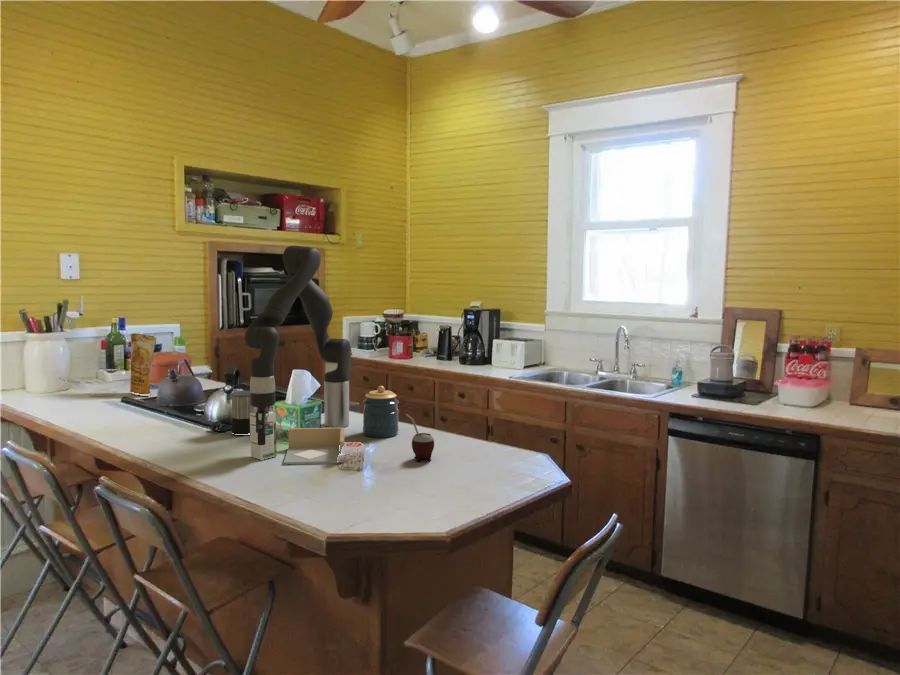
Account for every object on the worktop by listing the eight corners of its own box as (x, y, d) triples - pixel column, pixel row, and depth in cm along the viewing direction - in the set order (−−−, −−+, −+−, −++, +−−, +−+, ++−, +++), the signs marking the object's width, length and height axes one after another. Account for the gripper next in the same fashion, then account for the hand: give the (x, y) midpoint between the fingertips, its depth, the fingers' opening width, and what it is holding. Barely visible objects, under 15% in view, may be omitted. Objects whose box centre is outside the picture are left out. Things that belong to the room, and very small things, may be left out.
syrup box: (261, 460, 198) (261, 414, 196) (250, 457, 201) (249, 411, 200) (276, 456, 202) (276, 411, 201) (265, 453, 206) (264, 409, 204)
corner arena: (289, 448, 212) (288, 428, 211) (344, 447, 215) (344, 427, 214) (283, 464, 194) (283, 442, 194) (343, 463, 197) (343, 441, 196)
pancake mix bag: (139, 391, 306) (137, 332, 303) (159, 396, 294) (157, 335, 291) (125, 392, 301) (122, 333, 298) (144, 398, 289) (142, 336, 286)
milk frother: (259, 435, 228) (258, 394, 227) (211, 439, 223) (210, 396, 221) (255, 426, 242) (255, 387, 240) (211, 429, 236) (210, 389, 234)
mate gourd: (438, 459, 203) (439, 412, 201) (423, 465, 196) (424, 417, 195) (419, 455, 207) (419, 409, 206) (404, 460, 201) (404, 413, 199)
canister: (381, 440, 224) (381, 390, 223) (355, 434, 232) (355, 386, 230) (406, 433, 235) (406, 385, 233) (380, 427, 242) (380, 381, 241)
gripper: (272, 394, 193) (273, 447, 195) (277, 385, 207) (278, 435, 209) (246, 394, 192) (247, 447, 194) (253, 386, 206) (254, 435, 208)
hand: (263, 441), depth 201 cm, fingers closed on syrup box, 8 cm apart
